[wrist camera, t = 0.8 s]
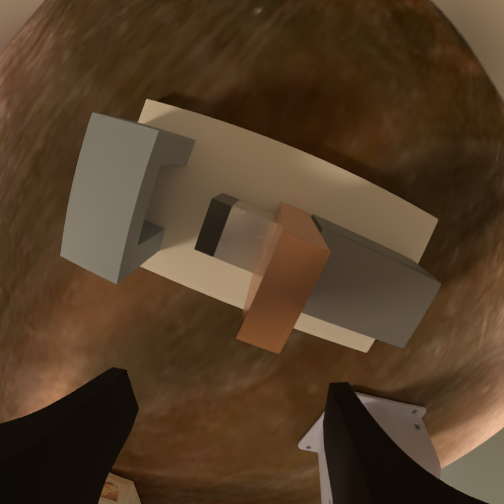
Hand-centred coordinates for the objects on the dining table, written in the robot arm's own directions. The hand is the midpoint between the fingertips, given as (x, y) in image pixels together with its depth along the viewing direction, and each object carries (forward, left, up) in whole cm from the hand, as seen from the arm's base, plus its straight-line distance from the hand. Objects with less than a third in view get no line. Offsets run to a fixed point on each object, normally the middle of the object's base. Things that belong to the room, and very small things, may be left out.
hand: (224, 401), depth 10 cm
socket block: (+8, -4, -9) cm, 13 cm away
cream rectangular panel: (+1, -4, -10) cm, 11 cm away
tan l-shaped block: (-2, -4, -9) cm, 10 cm away
